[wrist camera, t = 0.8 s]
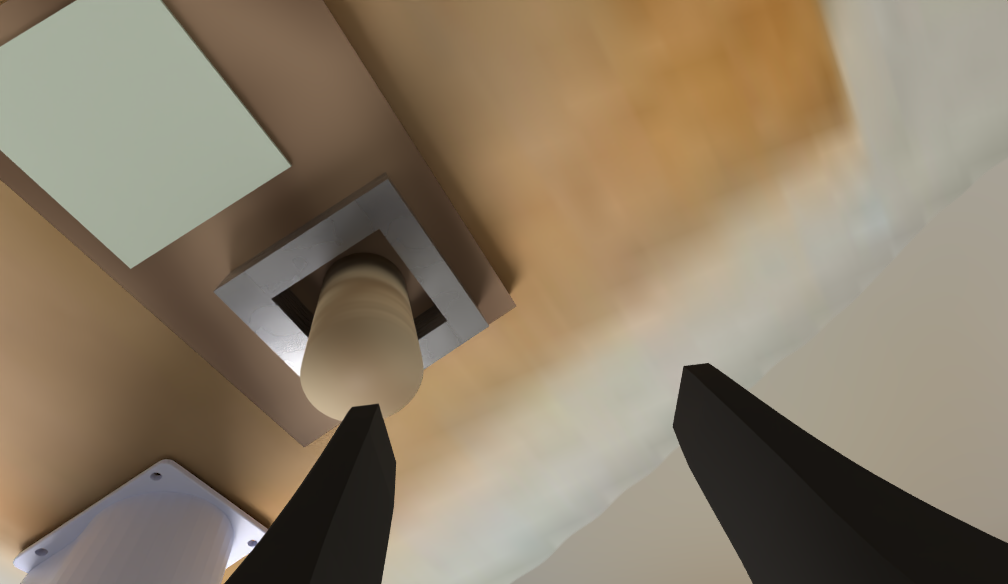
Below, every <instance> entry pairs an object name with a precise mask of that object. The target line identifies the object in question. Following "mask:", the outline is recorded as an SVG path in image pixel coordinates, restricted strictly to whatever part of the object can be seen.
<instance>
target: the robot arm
mask: <svg viewBox="0 0 1008 584" xmlns="http://www.w3.org/2000/svg"><path fill="white" fill-rule="evenodd" d="M673 429H674V431H675V434H676V436H677V439H678V441H679V444H680V446H681V449H682V451H683V454H684V456H685V458H686V460H687V463H688V465H689V468H690V469H691V471H692V473H693V475H694V477H695V479H696V480H697V482H698V484H699V486H700V488H701V490H702V491H703V493H704V495H705V497H706V499H707V500H708V502H709V504H710V506H711V508H712V509H713V511H714V513H715V515H716V516H717V518H718V520H719V522H720V524H721V525H722V527H723V529H724V531H725V532H726V534H727V536H728V538H729V540H730V541H731V543H732V545H733V547H734V549H735V550H736V552H737V554H738V556H739V558H740V559H741V561H742V563H743V565H744V567H745V569H746V571H747V573H748V575H749V577H750V579H751V581H752V583H753V584H1008V543H1006V542H1004V541H1002V540H1000V539H998V538H996V537H993V536H991V535H989V534H987V533H985V532H983V531H981V530H979V529H977V528H975V527H973V526H971V525H969V524H967V523H965V522H963V521H961V520H959V519H957V518H955V517H953V516H951V515H949V514H947V513H945V512H943V511H941V510H939V509H937V508H935V507H933V506H931V505H929V504H927V503H926V502H924V501H922V500H920V499H918V498H916V497H914V496H912V495H911V494H909V493H907V492H905V491H903V490H901V489H900V488H898V487H896V486H895V485H893V484H891V483H889V482H887V481H886V480H884V479H882V478H880V477H878V476H877V475H875V474H873V473H871V472H870V471H868V470H866V469H865V468H863V467H861V466H859V465H858V464H856V463H855V462H853V461H851V460H850V459H848V458H846V457H845V456H843V455H842V454H840V453H839V452H837V451H835V450H834V449H832V448H831V447H829V446H827V445H826V444H824V443H823V442H821V441H820V440H818V439H816V438H815V437H813V436H812V435H810V434H809V433H807V432H806V431H804V430H803V429H801V428H800V427H798V426H797V425H795V424H794V423H792V422H791V421H790V420H788V419H787V418H785V417H784V416H782V415H781V414H779V413H778V412H777V411H775V410H774V409H772V408H771V407H770V406H768V405H767V404H765V403H764V402H763V401H761V400H760V399H758V398H757V397H756V396H754V395H753V394H751V393H750V392H749V391H747V390H746V389H744V388H743V387H742V386H740V385H739V384H738V383H736V382H735V381H733V380H732V379H731V378H729V377H728V376H726V375H725V374H724V373H722V372H721V371H719V370H718V369H716V368H715V367H714V366H712V365H711V364H709V363H705V364H697V365H689V366H684V367H683V372H682V378H681V383H680V389H679V394H678V400H677V405H676V411H675V416H674V422H673ZM154 473H160V474H161V475H156V474H154ZM395 475H396V460H395V457H394V454H393V450H392V447H391V443H390V440H389V437H388V433H387V430H386V426H385V423H384V420H383V416H382V413H381V409H380V406H379V404H371V405H363V406H355V407H352V408H351V409H350V410H349V411H348V412H347V414H346V416H345V417H344V419H343V421H342V422H341V424H340V425H339V427H338V429H337V430H336V432H335V434H334V435H333V437H332V438H331V440H330V441H329V443H328V445H327V446H326V448H325V449H324V451H323V452H322V454H321V455H320V457H319V459H318V460H317V462H316V463H315V465H314V466H313V468H312V469H311V470H310V472H309V473H308V475H307V476H306V478H305V479H304V481H303V482H302V484H301V485H300V487H299V488H298V490H297V491H296V492H295V494H294V495H293V497H292V498H291V500H290V501H289V502H288V504H287V505H286V506H285V508H284V509H283V510H282V512H281V513H280V514H279V516H278V517H277V518H276V520H275V521H274V522H273V524H272V525H271V526H270V528H269V529H267V528H266V527H264V526H263V525H262V524H260V523H259V522H258V521H256V520H255V519H253V518H252V517H251V516H249V515H248V514H246V513H245V512H244V511H242V510H241V509H240V508H238V507H237V506H235V505H234V504H233V503H231V502H230V501H229V500H227V499H226V498H224V497H223V496H222V495H220V494H219V493H218V492H216V491H215V490H213V489H212V488H211V487H209V486H208V485H206V484H205V483H204V482H202V481H201V480H200V479H198V478H197V477H195V476H194V475H193V474H191V473H190V472H189V471H187V470H186V469H184V468H183V467H182V466H180V465H179V464H177V463H176V462H175V461H173V460H169V459H164V460H161V461H159V462H157V463H156V464H154V465H153V466H151V467H150V468H148V469H146V470H145V471H143V472H142V473H140V474H139V475H137V476H136V477H134V478H133V479H131V480H130V481H128V482H127V483H125V484H124V485H122V486H121V487H119V488H118V489H116V490H115V491H113V492H112V493H110V494H108V495H107V496H105V497H104V498H102V499H101V500H99V501H98V502H96V503H95V504H93V505H92V506H90V507H89V508H87V509H86V510H84V511H83V512H81V513H80V514H78V515H77V516H75V517H73V518H72V519H70V520H69V521H67V522H66V523H64V524H63V525H61V526H60V527H58V528H57V529H55V530H54V531H52V532H51V533H49V534H48V535H46V536H45V537H43V538H42V539H40V540H39V541H37V542H35V543H34V544H32V545H31V546H29V547H28V548H26V549H25V550H23V551H22V552H20V553H19V554H18V555H17V557H16V558H15V559H14V561H13V564H14V566H15V567H17V568H18V569H20V570H22V571H24V572H26V573H28V574H27V575H26V577H25V578H24V579H23V581H22V582H21V583H20V584H221V582H222V579H223V575H224V572H225V569H226V568H228V567H229V566H231V565H232V564H234V563H235V562H237V561H238V560H240V559H241V558H243V557H244V556H246V555H247V554H249V555H248V556H247V557H246V558H245V560H244V561H243V562H242V563H241V564H240V566H239V567H238V568H237V569H236V570H235V571H234V573H233V574H232V575H231V576H230V577H229V579H228V580H227V581H226V582H225V583H224V584H381V582H382V576H383V570H384V564H385V558H386V552H387V546H388V540H389V534H390V527H391V521H392V515H393V508H394V495H395ZM251 540H256V541H251ZM42 548H43V549H42Z"/></svg>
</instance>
